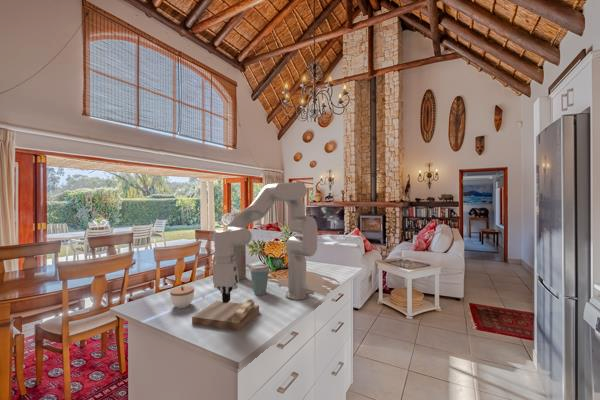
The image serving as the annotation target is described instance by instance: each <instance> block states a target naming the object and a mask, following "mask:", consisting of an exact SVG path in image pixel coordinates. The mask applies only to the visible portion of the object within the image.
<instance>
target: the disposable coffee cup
mask: <svg viewBox="0 0 600 400" xmlns="http://www.w3.org/2000/svg"><path fill="white" fill-rule="evenodd" d="M270 270H271V268H270V265H269V264H256V265H253V266H251V267H250V276H251V283H252V291H253V293H254V295H256V296H257V295H258V296H261V295H265V294H266V292H267V287H268V280H269V274H270Z"/></svg>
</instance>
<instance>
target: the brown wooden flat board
mask: <svg viewBox="0 0 600 400" xmlns="http://www.w3.org/2000/svg"><path fill="white" fill-rule="evenodd" d="M243 304H244V303H241V302H231V301H229V302H228V303H223V300H216V301H214V302H212V303H211V304H210V305H208V306H206V307H205V308H203V309H201V310H200V311H198V312H197V313H196V314H194V315H192V316H191V324H192V325H196V324H197V326H203V327H212V328H218V329H225V330H232V331H241V330H243V329H244V328H245V326H247V325H248V324H249V322H250V321H252V320H253V319H254V318H255V317H256V316H257V315H258V314H259V313H260V305H258V304H257V305H256V304H254V306H253V307H252V309H251V310H250V311H249V312H248V313H247V314H246V315H245V317H244V318H243V319H242V320H241V321H240V322H239V323H234V322H232V315H233V314H234V313H235V312H236V311H237V310H238V309H239V308H240V307H241V306H242V305H243Z"/></svg>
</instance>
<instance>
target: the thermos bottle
mask: <svg viewBox="0 0 600 400" xmlns="http://www.w3.org/2000/svg"><path fill="white" fill-rule="evenodd" d="M246 245H247V244H246ZM246 245H236V246H233V255H234V257H236V260H234V261H235V262H236V265H237V269H238V277H239V281H242V280H245V279H246V278H247V275H246V274H247V270H246V269H247V266H246V263H247V262H246V259H247V257H246V250H247V249H246Z"/></svg>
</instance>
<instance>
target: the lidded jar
mask: <svg viewBox="0 0 600 400" xmlns="http://www.w3.org/2000/svg"><path fill="white" fill-rule="evenodd" d="M169 293H170V301H171V304H172V305H173V306H174V307H175V308H176V307H177V308H176V309H185V308H187V307H189V306H190V305H191V303H192V302H193V300H194V298H195V297H194V296H195V287H193V286H191V285H190V286H189V285H188V286H184V285H183V286H182V285H181V286H178V287H175V288H172V289H171V290H170V291H169Z"/></svg>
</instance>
